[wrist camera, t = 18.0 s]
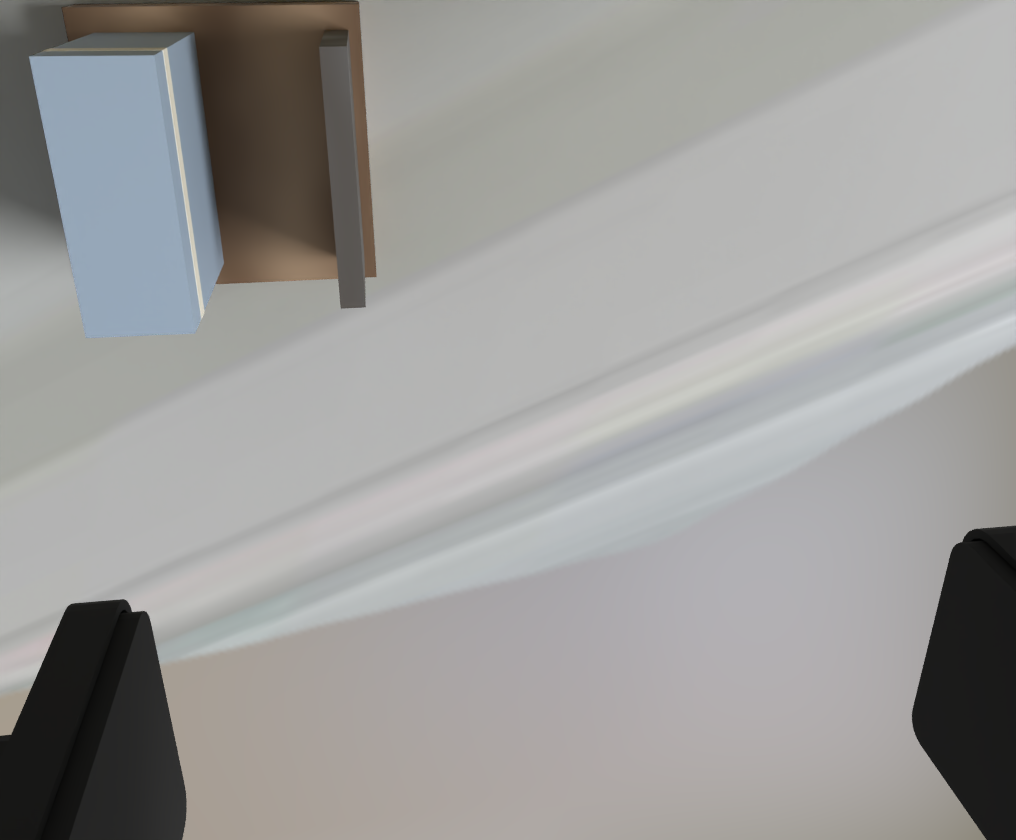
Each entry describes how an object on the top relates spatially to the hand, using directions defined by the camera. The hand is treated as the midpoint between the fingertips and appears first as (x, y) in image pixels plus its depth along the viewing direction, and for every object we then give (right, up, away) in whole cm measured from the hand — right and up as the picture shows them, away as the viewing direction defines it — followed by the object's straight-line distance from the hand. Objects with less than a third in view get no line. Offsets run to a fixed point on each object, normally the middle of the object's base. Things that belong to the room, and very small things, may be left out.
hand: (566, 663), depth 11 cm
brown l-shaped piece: (-13, +16, +33) cm, 39 cm away
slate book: (-16, +14, +31) cm, 38 cm away
